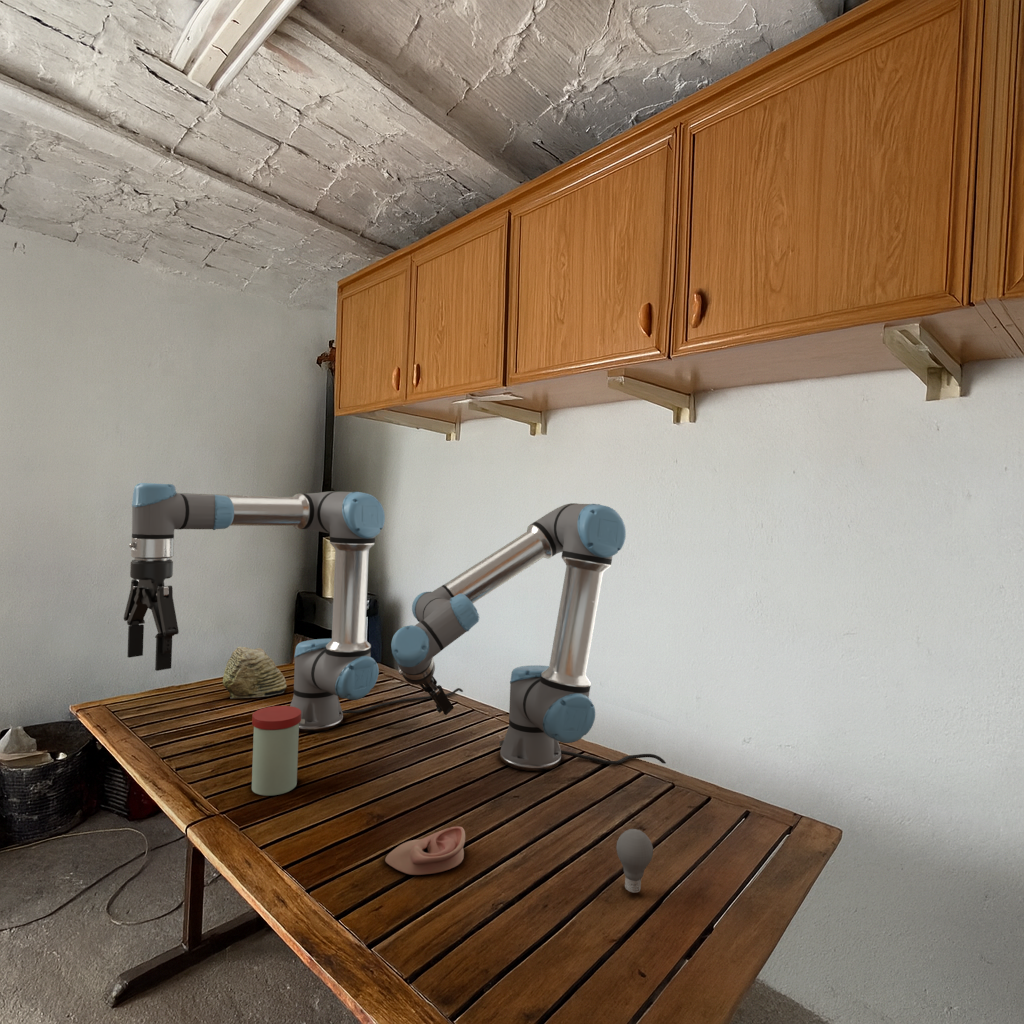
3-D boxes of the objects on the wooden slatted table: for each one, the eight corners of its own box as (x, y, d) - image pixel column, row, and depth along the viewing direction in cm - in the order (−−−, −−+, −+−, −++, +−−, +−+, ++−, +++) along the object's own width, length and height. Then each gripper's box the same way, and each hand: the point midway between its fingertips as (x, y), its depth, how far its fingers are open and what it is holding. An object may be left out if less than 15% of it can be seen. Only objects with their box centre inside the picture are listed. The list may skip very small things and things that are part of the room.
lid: (308, 715, 142) (308, 707, 142) (288, 731, 132) (289, 723, 132) (265, 712, 143) (266, 704, 143) (243, 727, 133) (243, 719, 133)
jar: (303, 778, 142) (306, 710, 142) (285, 797, 133) (288, 724, 133) (264, 775, 143) (266, 706, 143) (243, 793, 134) (245, 720, 133)
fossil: (218, 695, 195) (220, 647, 195) (278, 685, 208) (279, 640, 207) (228, 703, 189) (230, 653, 188) (289, 692, 201) (290, 645, 201)
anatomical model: (378, 846, 108) (403, 814, 120) (377, 869, 108) (402, 835, 120) (453, 858, 106) (471, 824, 117) (452, 882, 106) (470, 846, 117)
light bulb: (610, 879, 108) (613, 822, 108) (644, 879, 109) (647, 822, 109) (619, 902, 102) (622, 840, 102) (655, 901, 103) (658, 840, 103)
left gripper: (108, 554, 134) (104, 654, 134) (159, 565, 118) (155, 678, 119) (146, 552, 140) (143, 648, 140) (199, 563, 124) (195, 671, 124)
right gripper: (368, 634, 142) (382, 661, 160) (440, 718, 133) (446, 736, 152) (394, 613, 145) (405, 642, 163) (466, 694, 136) (469, 715, 155)
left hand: (148, 662), depth 129 cm, fingers open, 13 cm apart
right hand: (425, 687), depth 158 cm, fingers open, 13 cm apart
